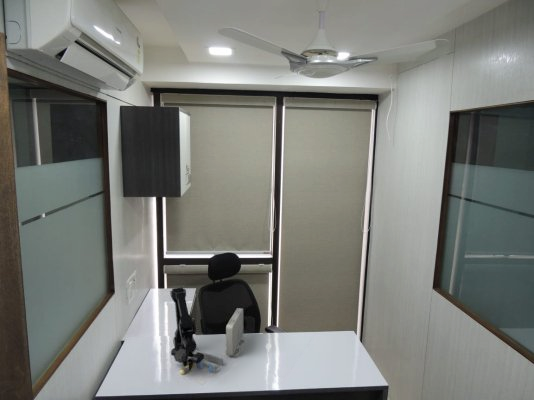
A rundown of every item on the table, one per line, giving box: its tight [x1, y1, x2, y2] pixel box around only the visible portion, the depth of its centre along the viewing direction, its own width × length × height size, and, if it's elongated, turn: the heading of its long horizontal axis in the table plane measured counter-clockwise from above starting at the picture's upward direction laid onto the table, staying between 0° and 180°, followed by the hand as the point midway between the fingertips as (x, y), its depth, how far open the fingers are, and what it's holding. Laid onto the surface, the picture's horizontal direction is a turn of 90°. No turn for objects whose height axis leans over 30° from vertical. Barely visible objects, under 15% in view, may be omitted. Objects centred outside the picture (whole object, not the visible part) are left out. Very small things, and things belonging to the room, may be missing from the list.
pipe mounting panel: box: [174, 349, 224, 386], centre depth 188 cm, size 19×18×5 cm
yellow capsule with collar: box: [180, 363, 195, 375], centre depth 188 cm, size 11×3×2 cm, turn 153°
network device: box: [224, 307, 246, 357], centre depth 210 cm, size 26×9×20 cm, turn 170°
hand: (187, 368), depth 188 cm, fingers open, 3 cm apart
